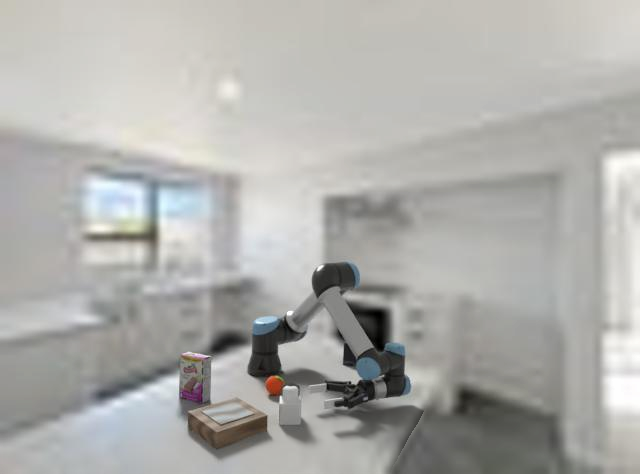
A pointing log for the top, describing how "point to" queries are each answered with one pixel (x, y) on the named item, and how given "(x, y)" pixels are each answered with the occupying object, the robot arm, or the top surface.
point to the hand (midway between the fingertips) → (316, 396)
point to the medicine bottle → (290, 405)
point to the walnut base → (227, 422)
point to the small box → (348, 356)
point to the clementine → (274, 384)
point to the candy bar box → (195, 377)
